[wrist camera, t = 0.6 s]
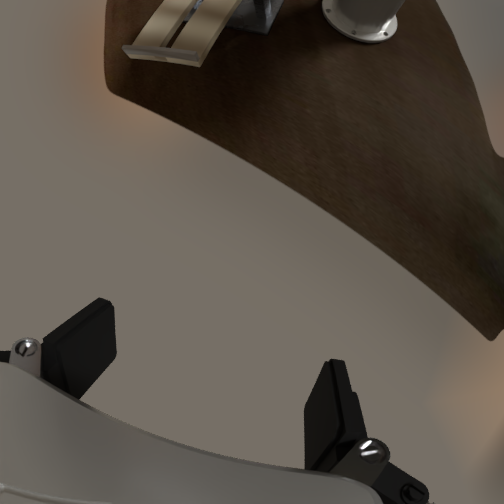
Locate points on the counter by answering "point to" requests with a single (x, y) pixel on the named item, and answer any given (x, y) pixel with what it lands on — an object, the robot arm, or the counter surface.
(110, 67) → the counter surface
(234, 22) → the pivot stand
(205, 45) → the beam
